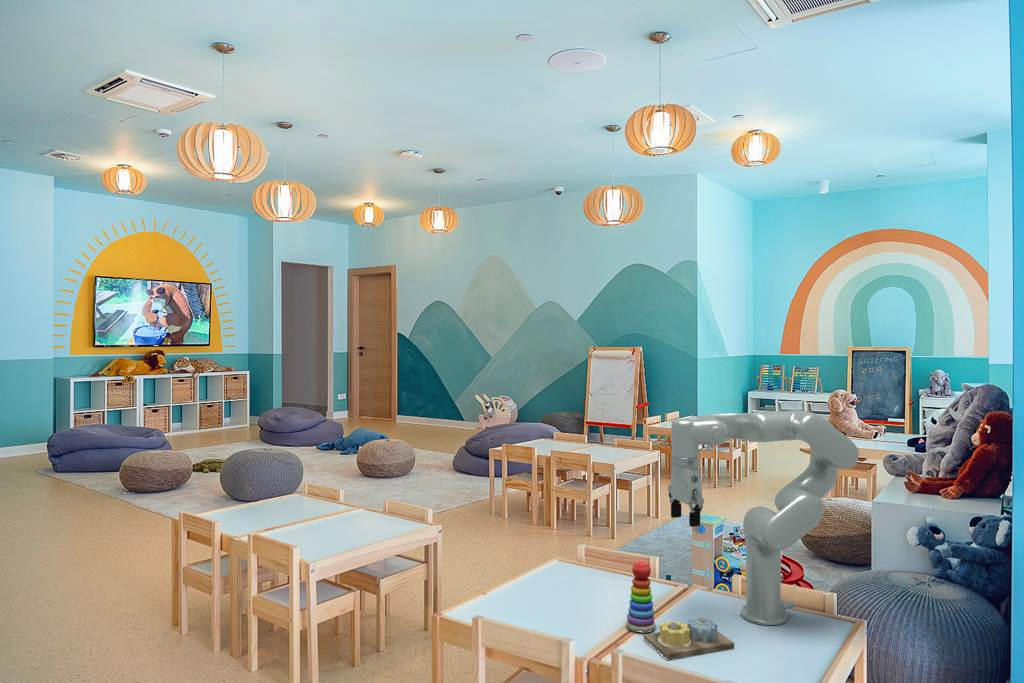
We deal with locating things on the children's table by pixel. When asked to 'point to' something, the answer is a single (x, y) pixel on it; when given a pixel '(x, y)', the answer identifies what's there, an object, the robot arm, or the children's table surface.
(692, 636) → the slate gear
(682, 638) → the ochre gear
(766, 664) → the children's table surface
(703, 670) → the children's table surface
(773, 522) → the robot arm
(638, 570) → the stacking toy
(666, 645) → the gear board
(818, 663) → the children's table surface
